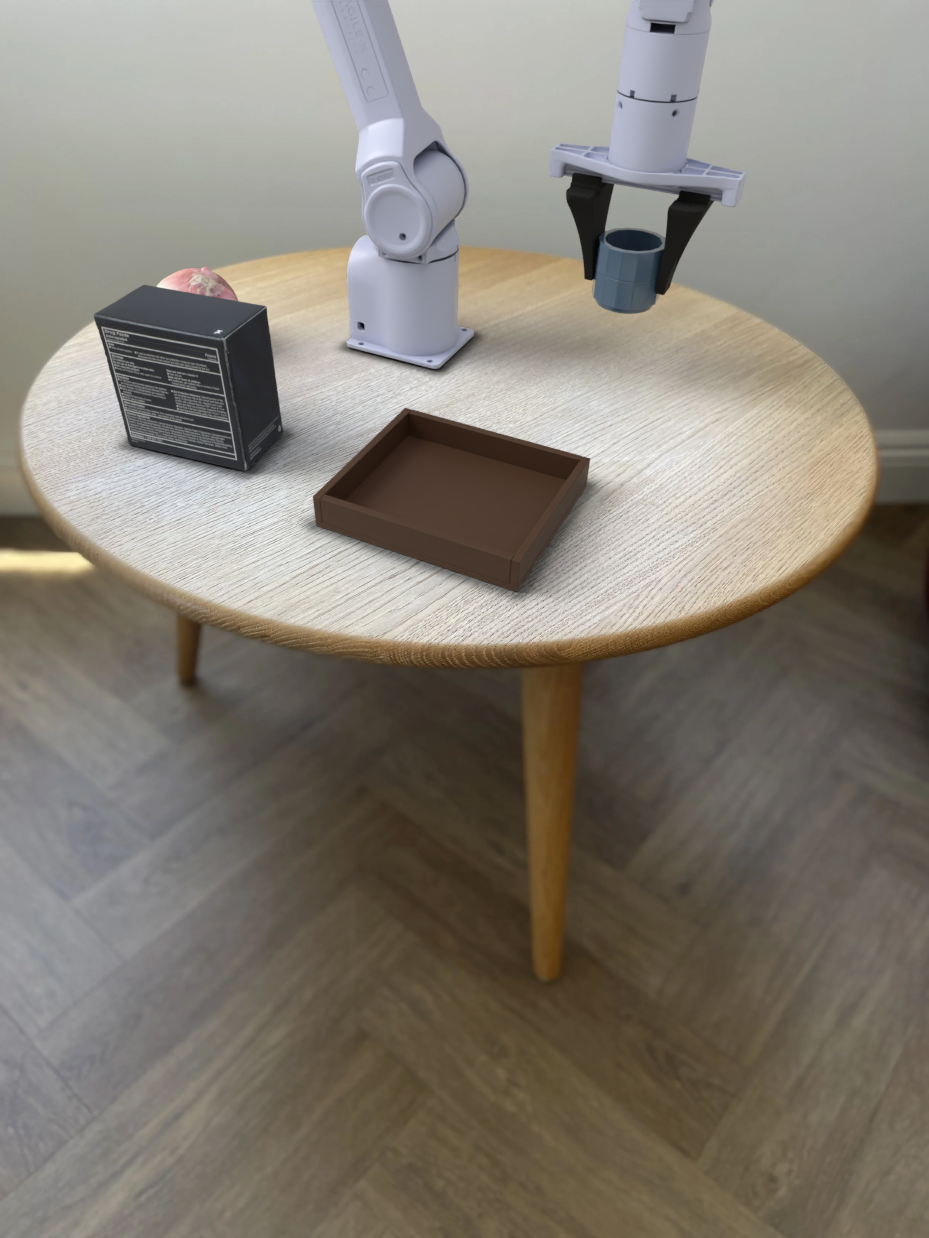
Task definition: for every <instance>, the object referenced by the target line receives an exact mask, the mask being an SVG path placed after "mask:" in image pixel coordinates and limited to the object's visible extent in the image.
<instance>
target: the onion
mask: <svg viewBox="0 0 929 1238" xmlns="http://www.w3.org/2000/svg"><path fill="white" fill-rule="evenodd" d="M156 287H160V288H166V289H171V290H177V291H183V292H189V293H194V294H200V295H205V296H211V297H217V298H223V299H229V300H234V301H239V299H238V297H237V294H236V292H235V290H234V289H233V288H232V286H231V285H230V284H229V283H228V282H227V280H225V278H224V277H222V276H221V275H220V274H218V273H217V272H214V271H213V270H212V269H211V268H210V267H209V266H203V267H189V268H184V269H180V270H178V271H175V272H173V273H171V274H169V275H168V276H166V277H164V278H163V279H162V280H161V281H159V283H157V285H156Z"/></svg>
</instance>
